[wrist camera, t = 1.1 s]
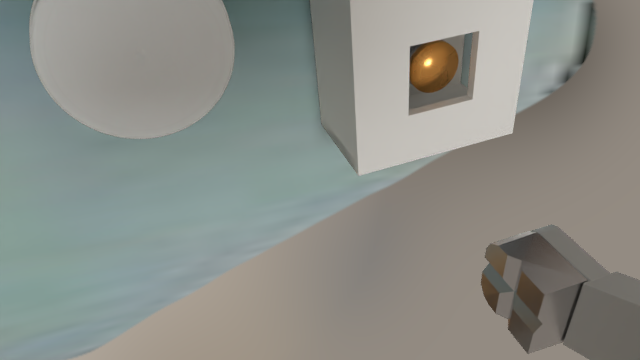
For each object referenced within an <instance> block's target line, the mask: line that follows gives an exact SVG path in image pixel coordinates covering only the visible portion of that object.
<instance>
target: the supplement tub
mask: <svg viewBox="0 0 640 360" xmlns="http://www.w3.org/2000/svg"><path fill="white" fill-rule="evenodd" d="M29 36H30V50H31V56H32V60H33V64H34V67H35V69H36V72H37V74H38V77H39V79H40V81H41V82H42V84H43V86H44V87H45V89H46V91H47V92H48V94H49V95H50V96H51V97H52V99H53V100H54V101H55V102H56V103H57V104H58V105H59V106H60V107H61V108H62V109H63V110H64V111H65V112H66V113H68V114H69V115H70V116H71V117H73V118H74V119H76V120H77V121H79V122H80V123H82V124H84V125H86V126H88V127H90V128H92V129H94V130H96V131H99V132H102V133H105V134H108V135H112V136H116V137H121V138H129V139H149V138H156V137H162V136H166V135H170V134H173V133H175V132H178V131H181V130H183V129H185V128H187V127H189V126H191V125H192V124H194V123H196V122H197V121H199V120H200V119H201V118H202V117H204V116H205V115H206V114H207V113H208V112H209V111H210V110H211V109H212V108H213V107H214V106H215V105H216V103H217V102H218V101H219V99H220V98H221V96H222V95H223V93H224V91H225V89H226V87H227V85H228V83H229V80H230V77H231V74H232V70H233V65H234V56H235V44H234V36H233V31H232V27H231V24H230V20H229V17H228V14H227V11H226V8H225V6H224V4H223V1H222V0H34V1H33V4H32V8H31V13H30V22H29Z"/></svg>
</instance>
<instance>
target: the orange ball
mask: <svg viewBox="0 0 640 360" xmlns="http://www.w3.org/2000/svg"><path fill="white" fill-rule="evenodd" d="M458 61H459V59H458V54H457V51H456V50H455V48H454V47H453V46H452V45H450V44H449V43H447V42H446V41H444V40H443V39H441V40H436V41H432V42H427V43H423V44H418V45H414V46H410V67H409V83H411V84H412V85H413V86H414V87H415V88H416V89H418V90H419V91H421V92H424V93H432V92H436V91H438V90H440V89H442V88H444V87H445V86H446V85H447V84H448V83H449V82H450V81H451V80H452V79H453V77H454V75H455V73H456V71H457V68H458Z"/></svg>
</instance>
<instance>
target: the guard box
mask: <svg viewBox="0 0 640 360" xmlns="http://www.w3.org/2000/svg"><path fill="white" fill-rule="evenodd" d="M532 6H533V0H310V8H311V19H312V29H313V40H314V50H315V61H316V72H317V82H318V93H319V104H320V114H321V124H322V126H323V127H324V129H325V130H326V131H327V133H328V134H329V135H330V137H331V138H332V140H333V141H334V142H335V144H336V145H337V147H338V148H339V149H340V151H341V152H342V154H343V155H344V156H345V158H346V159H347V160H348V162H349V163H350V165H351V166H352V167H353V169H354V170H355V172H356V173H357V174H358V176H360V175H363V174H367V173H370V172H374V171H378V170H381V169H385V168H388V167H392V166H396V165H399V164H403V163H406V162H410V161H414V160H417V159H421V158H424V157H428V156H432V155H435V154H439V153H442V152H446V151H449V150H453V149H457V148H460V147H464V146H467V145H471V144H475V143H478V142H482V141H485V140H489V139H493V138H496V137H500V136H503V135H507V134H511V133H512V132H513V126H514V120H515V113H516V107H517V101H518V94H519V88H520V82H521V75H522V69H523V63H524V57H525V50H526V44H527V38H528V31H529V25H530V19H531V12H532ZM472 32H473V36H472V47H471V58H470V68H469V79H468V88H467V87H465V86H464V85H463V84H461V71H462V59H463V47H464V35H465V34H467V33H472ZM441 39H443V40H444V41H446V42H447V43H449V44H450V45H452V46H453V47H454V48H455V50H456V51H457V54H458V59H459V61H458V68H457V71H456V73H455V75H454V77H453V79H452V80H451V81H450V82H449V83H448V84H447V85H446V86H445V87H444V88H442V89H440V90H438V91H436V92H432V93H424V92H421V91H419V90H418V89H416V88H415V87H414V86H413V85H412V84H411V83H409V67H410V46H414V45H418V44H423V43H427V42H432V41H436V40H441Z"/></svg>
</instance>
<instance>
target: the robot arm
mask: <svg viewBox="0 0 640 360" xmlns="http://www.w3.org/2000/svg"><path fill="white" fill-rule="evenodd" d="M485 258H486V259H487V261H489V264H488V265H487V267H486V268H485V269H484V270H483V272H482V279H481V286H482V290H483V294H484V297H485V299H486V300H487V302H488V304H489V306H490V307H491V308H492V310H493V311H494V312H495V313H496V314H498V315H500V316H502V317H504V318H507V319H508V330H509V331H510V332H511V334H512V335H513V336H514V337H515V339H516V340H517V341H518V342H519V344H520V345H521V346H522V347H523V349H524V350H525V351H526V352H527V353H528V354H529V353H532V352H535V351H538V350H541V349H544V348H547V347H550V346H553V345H556V344H559V343H562V342H563V345H565V346H567V347H568V348H570V349H572V350H574V351H576V352H577V353H579V354H581V355H583V356H584V357H586V358H588V359H589V360H640V280H638V279H635V278H632V277H630V276H627V275H624V274H621V273H618V272H614V273H611V274H610V273H609V272H608V271H607V270H606V269H605V268H604V267H603V266H602V265H600V264H599V263H598V262H597V261H596V260H595V259H594V258H593V257H591V256H590V255H589V254H588V253H587V252H586V251H585V250H584V249H582V248H581V247H580V246H579V245H578V244H577V243H576V242H574V240H572V239H571V238H570V237H569V236H568V235H567V234H566V233H565V232H564V231H562V230H561V229H560V228H559V227H557V226H555V225H549V226H546V227H542V228H539V229H536V230H532V231H530V232H525V233H521V234H518V235H515V236H512V237H509V238H506V239H503V240H500V241H497V242H494V243H491V244H490V245H489V246H488V247H487V248H486V253H485Z"/></svg>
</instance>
